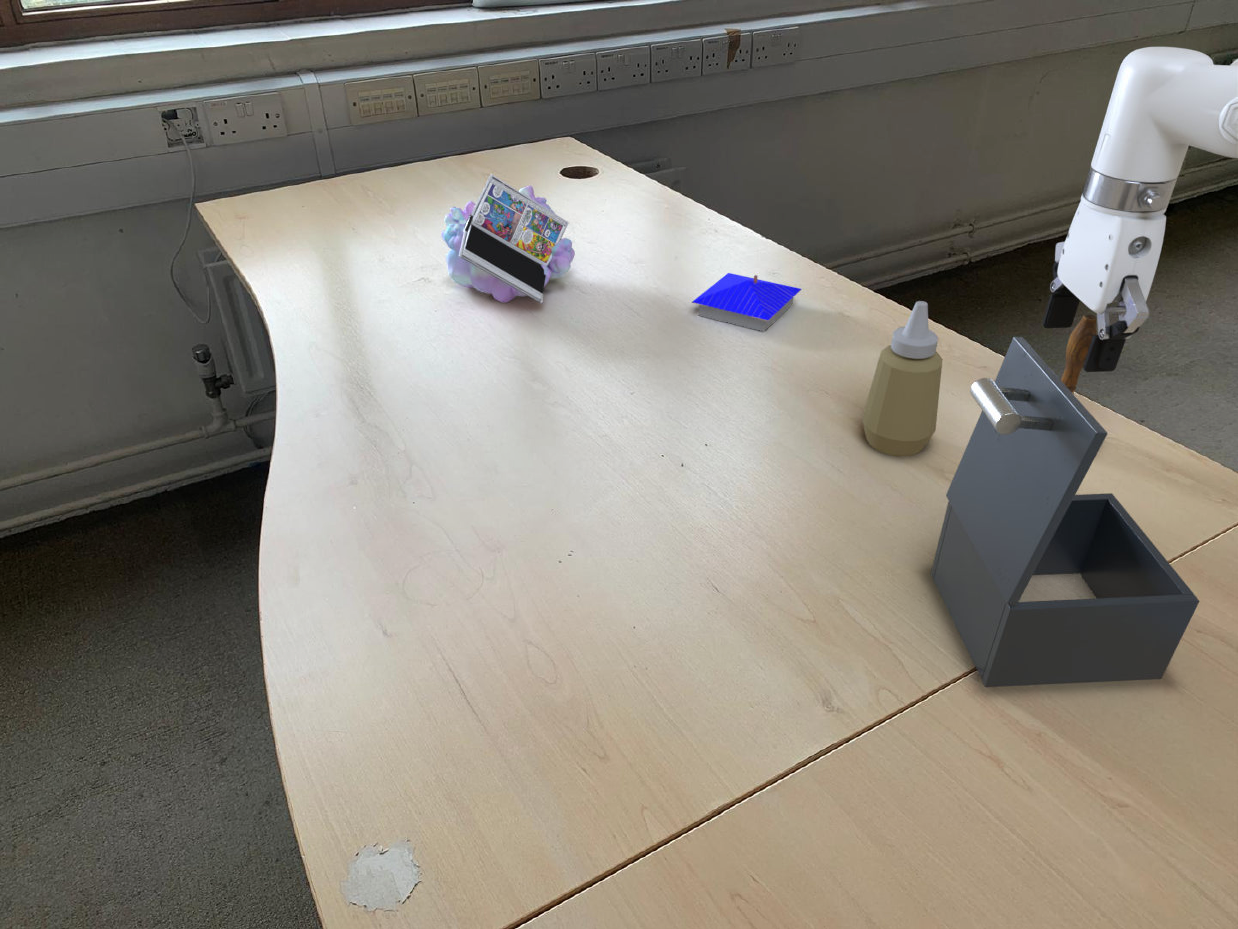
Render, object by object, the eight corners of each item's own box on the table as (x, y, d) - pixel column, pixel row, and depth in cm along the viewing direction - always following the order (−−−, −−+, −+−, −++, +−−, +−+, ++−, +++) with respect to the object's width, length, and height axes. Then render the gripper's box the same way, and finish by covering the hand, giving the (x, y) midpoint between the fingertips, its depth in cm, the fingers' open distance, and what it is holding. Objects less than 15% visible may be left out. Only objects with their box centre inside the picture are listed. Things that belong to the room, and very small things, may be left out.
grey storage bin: (1081, 575, 85) (1112, 493, 79) (1157, 687, 74) (1200, 601, 68) (928, 582, 85) (948, 499, 79) (982, 696, 73) (1010, 609, 68)
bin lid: (1023, 337, 70) (962, 330, 69) (1108, 433, 59) (1037, 426, 58) (954, 496, 79) (899, 491, 78) (1016, 605, 68) (954, 601, 67)
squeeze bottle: (920, 476, 98) (952, 327, 88) (848, 456, 102) (871, 310, 91) (938, 440, 104) (970, 296, 94) (869, 422, 107) (893, 281, 97)
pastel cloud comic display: (516, 217, 153) (464, 137, 138) (617, 238, 141) (573, 154, 127) (452, 311, 147) (391, 239, 133) (553, 341, 136) (498, 265, 121)
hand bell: (1103, 446, 102) (1148, 318, 93) (1060, 471, 99) (1103, 341, 89) (1038, 415, 108) (1075, 291, 99) (995, 437, 104) (1029, 312, 95)
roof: (766, 335, 126) (770, 299, 123) (691, 316, 131) (692, 282, 128) (800, 303, 134) (803, 269, 131) (727, 286, 139) (729, 253, 136)
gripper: (1218, 221, 79) (1153, 388, 89) (1120, 161, 93) (1073, 311, 103) (1135, 223, 79) (1079, 390, 89) (1049, 162, 93) (1009, 312, 103)
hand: (1076, 347), depth 96 cm, fingers open, 9 cm apart
